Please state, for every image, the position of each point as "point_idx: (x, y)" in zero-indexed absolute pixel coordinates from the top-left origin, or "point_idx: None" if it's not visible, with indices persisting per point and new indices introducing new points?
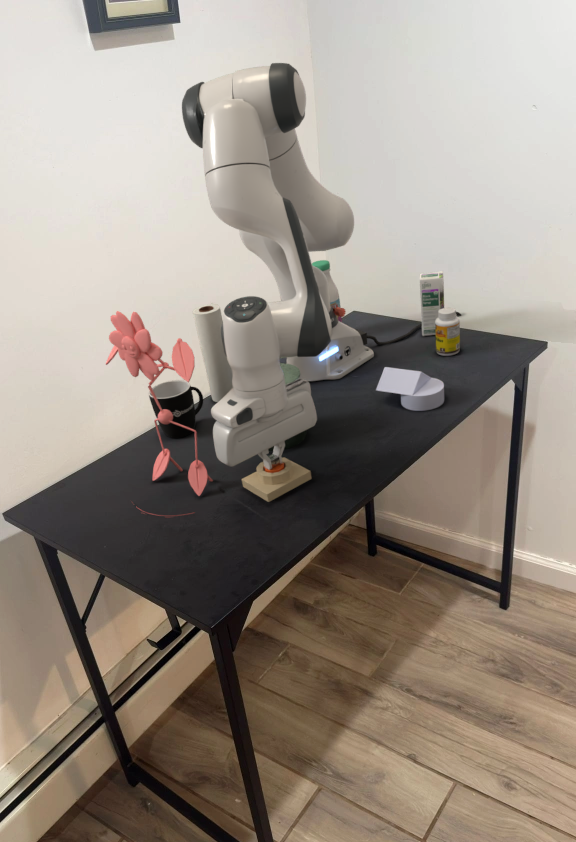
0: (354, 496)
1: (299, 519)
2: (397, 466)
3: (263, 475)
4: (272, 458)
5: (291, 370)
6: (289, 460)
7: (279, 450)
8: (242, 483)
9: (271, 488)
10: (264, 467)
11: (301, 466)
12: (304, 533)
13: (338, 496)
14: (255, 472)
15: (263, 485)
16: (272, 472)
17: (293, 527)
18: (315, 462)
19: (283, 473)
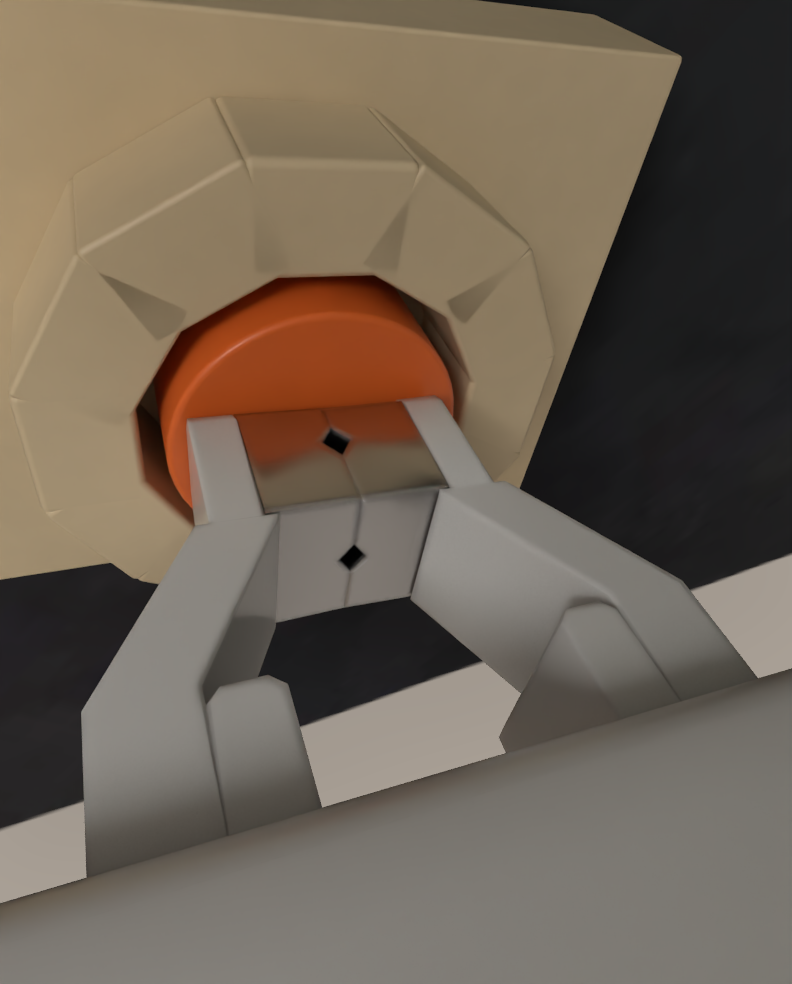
0: (449, 653)
1: (87, 697)
2: (739, 569)
3: (52, 517)
4: (326, 589)
5: None
6: (522, 435)
7: (490, 647)
8: None
9: (67, 531)
10: (185, 391)
11: (550, 403)
12: (34, 780)
13: (409, 626)
14: (98, 16)
15: (12, 439)
16: None
17: (5, 737)
18: (735, 226)
19: None
